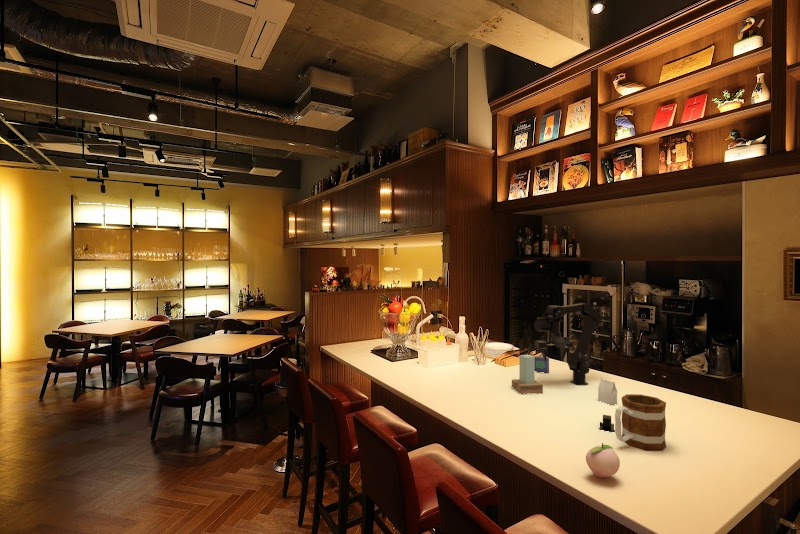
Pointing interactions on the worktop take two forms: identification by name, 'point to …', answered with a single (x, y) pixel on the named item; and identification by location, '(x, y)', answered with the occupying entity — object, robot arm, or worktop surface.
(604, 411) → the worktop surface
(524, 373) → the tall block
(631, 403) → the mug
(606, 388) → the paper bag
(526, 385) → the base brick
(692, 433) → the worktop surface
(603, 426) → the black flanged block
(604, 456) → the decorative fruit
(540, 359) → the flask
